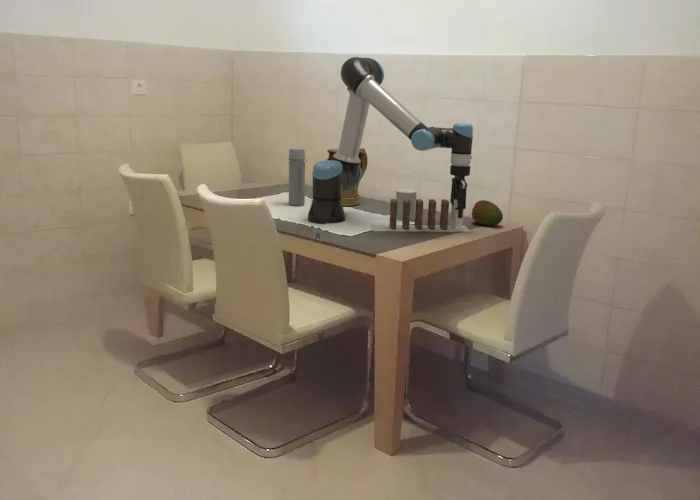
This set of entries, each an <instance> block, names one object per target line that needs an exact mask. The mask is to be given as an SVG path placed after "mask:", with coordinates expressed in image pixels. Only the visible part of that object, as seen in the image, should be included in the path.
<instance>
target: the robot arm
mask: <svg viewBox="0 0 700 500" xmlns="http://www.w3.org/2000/svg"><path fill="white" fill-rule="evenodd" d="M340 77H341V81H342V83H343V84H344V85H345V86H346V87H347V88H346V89H347V91H348V93H349V96H348V101H347V106H346V111H345V116H344V117H345V118H344V120H343V125H342V129H341V130H342V131H341V135H340V141H339V145H338V148H337V149H338V152H337V153H336V154H334V155H333V159H332V160H327V159H326V160H320V161H318V162H316V163H314V164H313V167H312V200H311V205H310V208H309V210H308V213H307V220H308V221H309V222H311V223H317V224H336V223H337V224H338V223H342V222H345V221H346V213H345V210H344V206H342V202H341V195H342V191H343V190H348V189H351V188H353V187H354V186H356V185H357V184H358V183H359V184H360V182H361V181H362V178H361V176H362V171H361V169H360V162H361V160H360V159H359V157H358V154H359V150H360V148H361V145H362V140H363V136H364V132H365V131H364V130H365V126H366V122H367V119H368V113H369V109H370V105H371V106H372V107H373V108H375V110H376V111H378V112H379V113H380V114H381V115H382V116H383V117H384V118H386V120H388V121H389V122H390V123H391V124H392V125H393V126H394V127H396V129H397V130H399V131H400V132H401V133H402V134H404V135H405V137H407V138H408V139H409V140H410V141H411V145H412V146H413V149H415V150H417V151H423V152H424V151H425V152H427V151H429V150H432V149H436V148H437V149H438V148H442V149H445V148H446V149H451V153H450V164H451V165H450V167H449V170H450V171H449V174H450V175H451V176H454V177H452V178H451V190H450V199H449V203H450V204H451V210H450V223H452V222H453V207H454V200H457V208H455V209H456V220H455V226H463V225H464V223H463V222H464V211H465V210H466V208H467V202H466V201H467V189H468V182H466V179H465V178H466V177H469V176H470V175H471V163H472V162H471V161H472V160H471V159H473V156H472V149H473V148H472V147H473V140H474V139H473V138H474V136H473V135H474V127H473V125H472V124H471V123H460V122H458V123H453V125H452V126H453V127H452V128H451V127H450V128H449V127H448V128H447V127H437V126H427V125H426V124H424V123H423V122H422V121H421V120H420V119H419V118H418V117H416V115H414V114H413V113H412V112H411V111H410V110H409V109H408V108H406V107H405V105H403V104H402V103H401V102H400V101H399V100H397V99H396V98H395V97H394V96H393V95H392V94H391V93H390V92H388V91H387V90H386V89H385V88H384V87H383V86H381V84H382V83H383V82H384V79H385V70H384V68H383V65H382V64H381V63H380V62H379V61H378V60H376V59H374V58H371V57H359V56H352V57H351V58H350V57H349V58H348V59H347V60H345V62H343V64H342V65H341V69H340ZM359 181H360V182H359ZM461 205H462V206H461Z"/></svg>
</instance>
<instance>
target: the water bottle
mask: <svg viewBox="0 0 700 500" xmlns="http://www.w3.org/2000/svg"><path fill="white" fill-rule="evenodd" d="M305 150H306V149H305V148H300V147H291V148H289V150H288V204H289V205H290V206H292V205H293V207H301V205H302V206H303V205H305V202H306V201H305V200H306V197H305V196H306V193H305V192H306V191H305V190H306V189H305V188H306V186H305V185H306V162H307V160H306V154H305V152H306V151H305Z"/></svg>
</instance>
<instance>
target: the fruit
mask: <svg viewBox="0 0 700 500" xmlns="http://www.w3.org/2000/svg"><path fill="white" fill-rule="evenodd" d="M471 210H472V211H471V217H472V219H473V220H474V222H475V223H477V224H478V225H481V226H485V227H486V226H487V227H488V226H489V227H492V226H496V225H498V224H500V223H501V222H502V221H503V218H504V215H503V212H502V210H501V209H500V208H499V207H498V205H496V204H495V203H493V202H491V201H489V200H483V199H482V200H479V201H477V202H475V203H474V205H473V207H472V209H471Z"/></svg>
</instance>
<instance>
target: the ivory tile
mask: <svg viewBox="0 0 700 500" xmlns="http://www.w3.org/2000/svg"><path fill="white" fill-rule="evenodd" d="M461 206H462V205H461ZM455 208H457V200H454V207H453V222H451V225H452V227H453V228H454V229H455V230H460V226H455V220H456V209H455Z"/></svg>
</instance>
